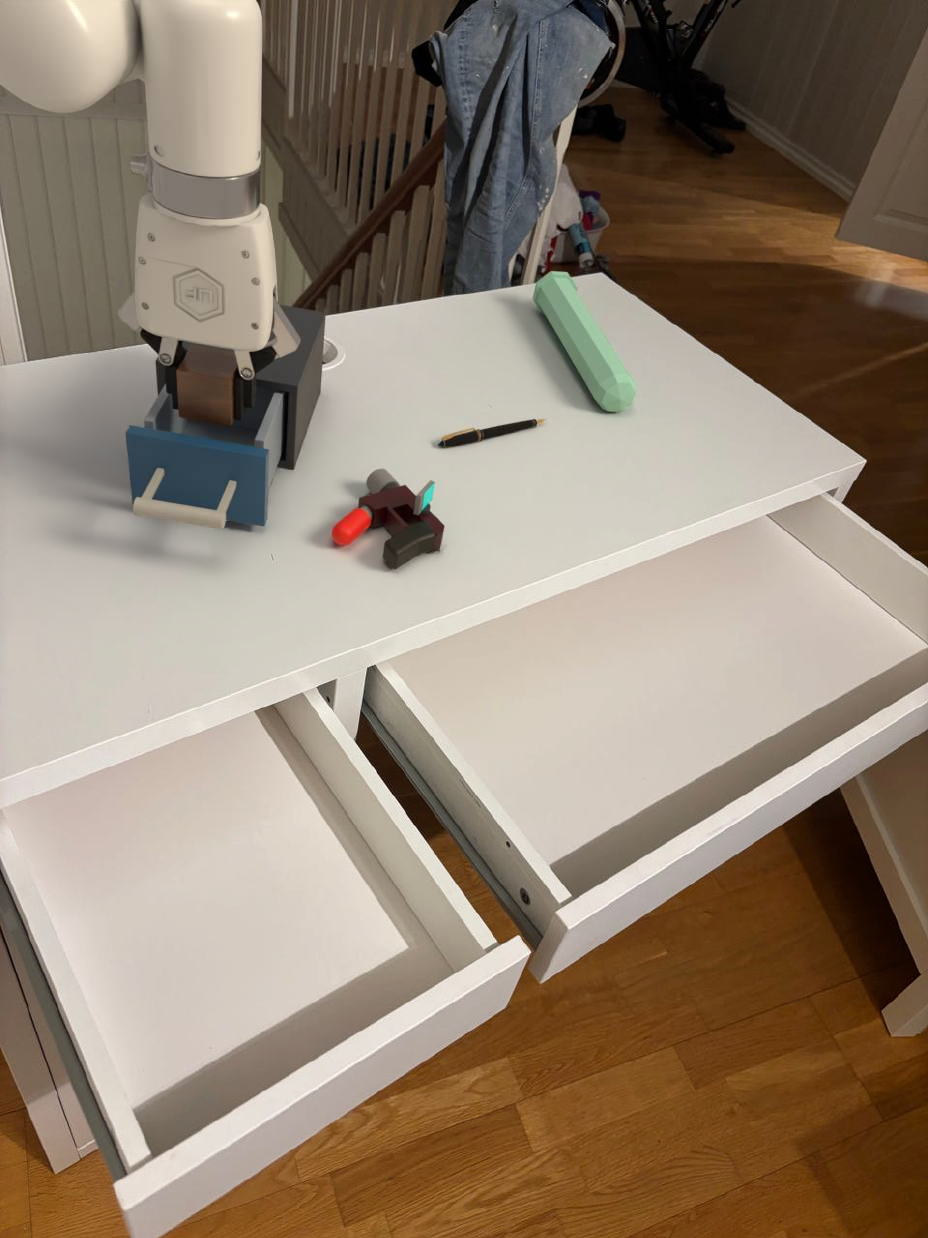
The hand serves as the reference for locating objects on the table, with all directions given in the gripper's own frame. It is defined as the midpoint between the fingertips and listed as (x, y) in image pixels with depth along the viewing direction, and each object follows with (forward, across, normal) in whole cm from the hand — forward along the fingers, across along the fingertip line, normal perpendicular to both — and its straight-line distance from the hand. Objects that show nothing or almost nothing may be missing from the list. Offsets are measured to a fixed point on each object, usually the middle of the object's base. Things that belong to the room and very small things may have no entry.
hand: (211, 404), depth 79 cm
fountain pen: (+9, +25, +18) cm, 32 cm away
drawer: (+8, 0, -1) cm, 8 cm away
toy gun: (+9, +15, -2) cm, 18 cm away
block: (0, 0, 0) cm, 0 cm away
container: (+9, +35, +38) cm, 52 cm away
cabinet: (+9, 0, +12) cm, 15 cm away
